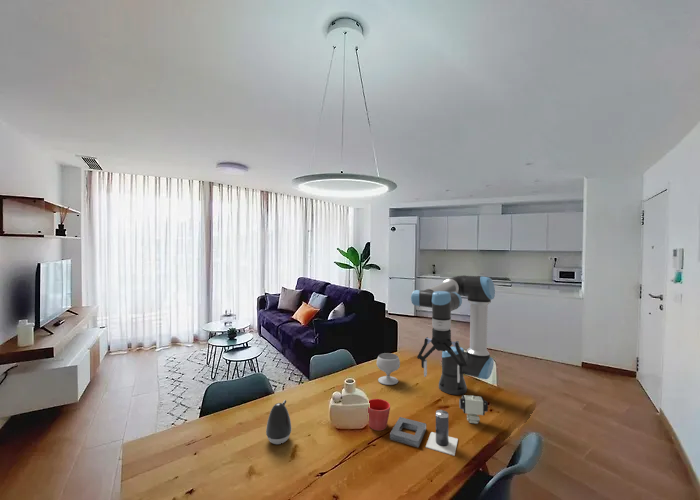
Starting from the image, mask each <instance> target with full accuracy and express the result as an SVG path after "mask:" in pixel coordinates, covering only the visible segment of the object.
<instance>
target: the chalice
mask: <svg viewBox="0 0 700 500" xmlns="http://www.w3.org/2000/svg"><path fill="white" fill-rule="evenodd" d="M400 365H401V361H400V358H399V356H398V355H397V354H394V353H391V352H384V353H383V352H382V353H380V354H378V356H377V358H376V366H377V368H378V369H379V370H380V371H382V372H384V373H385V374H386V375H384V376H380V377H379V378H377V381H378V383H380V384H382V385H386V386H393V385H397V384H398V383H399V379H398V378H397V377H394V376H392V375H391V373H393V372H395V371H398V370H399V369H400Z"/></svg>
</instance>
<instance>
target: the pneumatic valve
mask: <svg viewBox="0 0 700 500" xmlns="http://www.w3.org/2000/svg"><path fill="white" fill-rule="evenodd" d="M458 404H459V405H458V406H459V409H460V410H462V411H463V412H462V413H463V414H466V421H468V424H469V423H470V424H475V425H478V424H479V422H480V421H481V420H480V418H481V417H480V416H485V414H486V413H487V412H488V411H489V404H488V401H487V400H485V399H484V398H483V396H478V395H477V396H476V395H471V394H470V395H466V394H465V395H464V394H461V398H459V402H458Z"/></svg>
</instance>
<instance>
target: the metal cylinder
mask: <svg viewBox="0 0 700 500" xmlns="http://www.w3.org/2000/svg"><path fill="white" fill-rule="evenodd" d="M435 433H436V443H437V444H438V445H440V446H447V445H448V444H449V442H448V436H449V412H448V411H447V410H444V409H437V410H436V411H435Z"/></svg>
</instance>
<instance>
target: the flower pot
mask: <svg viewBox="0 0 700 500" xmlns="http://www.w3.org/2000/svg"><path fill="white" fill-rule="evenodd" d="M368 401H369V403H370V408H369V407H368V413H369V421H368V426H369V428H370V429H372V430H374V431H377V432H378V431H379V432H381V431H384V430H385V429H386V428H387V426H388V421H389V417H390V411H391V403H389V402H388V401H387V400H384V399H382V398H372V399H369V400H368Z"/></svg>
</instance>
